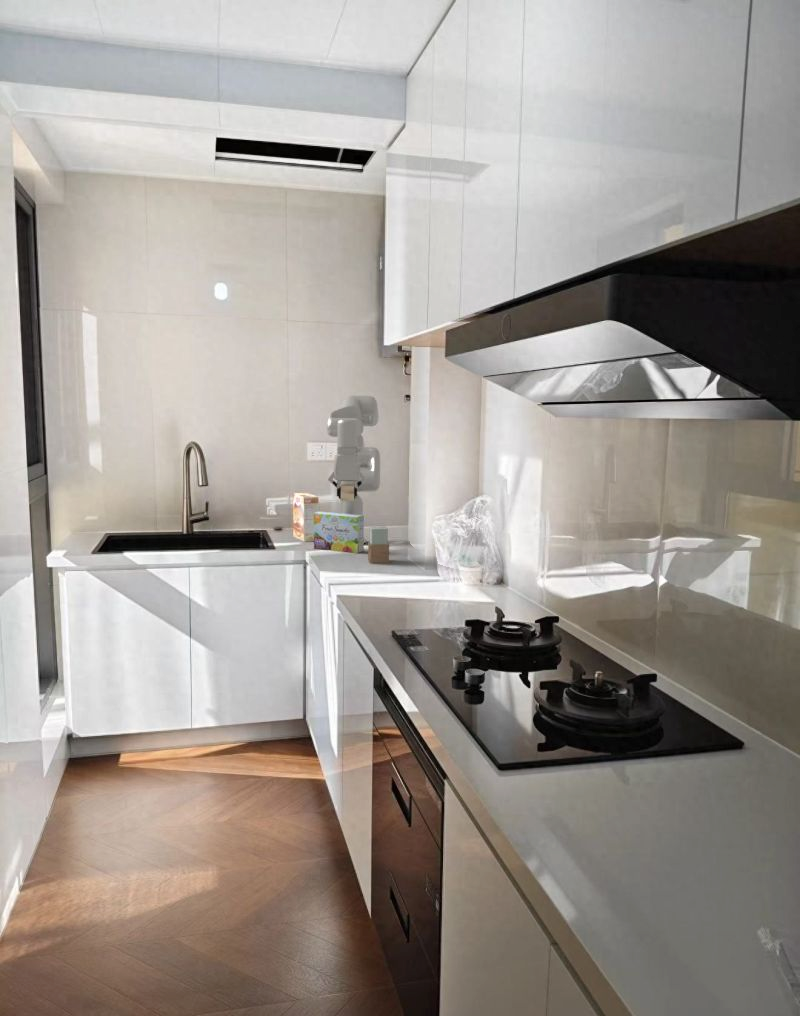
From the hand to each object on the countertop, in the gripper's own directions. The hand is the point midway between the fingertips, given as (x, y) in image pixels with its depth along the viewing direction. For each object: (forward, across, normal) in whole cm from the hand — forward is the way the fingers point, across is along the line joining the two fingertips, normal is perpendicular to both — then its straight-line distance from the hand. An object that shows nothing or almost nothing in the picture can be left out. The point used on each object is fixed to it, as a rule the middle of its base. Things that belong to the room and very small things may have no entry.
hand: (346, 497), depth 323 cm
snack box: (+23, +2, -14) cm, 27 cm away
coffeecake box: (+24, +14, -42) cm, 51 cm away
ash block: (+1, 0, 0) cm, 1 cm away
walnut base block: (+23, -11, +13) cm, 28 cm away
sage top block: (+16, -11, +12) cm, 23 cm away
